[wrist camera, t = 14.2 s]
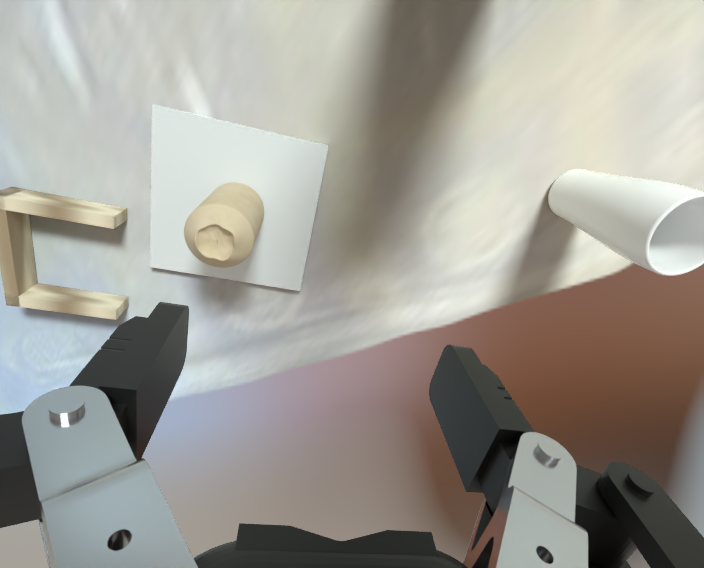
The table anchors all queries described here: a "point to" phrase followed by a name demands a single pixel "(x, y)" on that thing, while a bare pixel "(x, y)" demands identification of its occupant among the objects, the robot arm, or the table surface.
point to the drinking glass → (635, 217)
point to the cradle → (18, 256)
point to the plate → (226, 167)
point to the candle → (225, 225)
